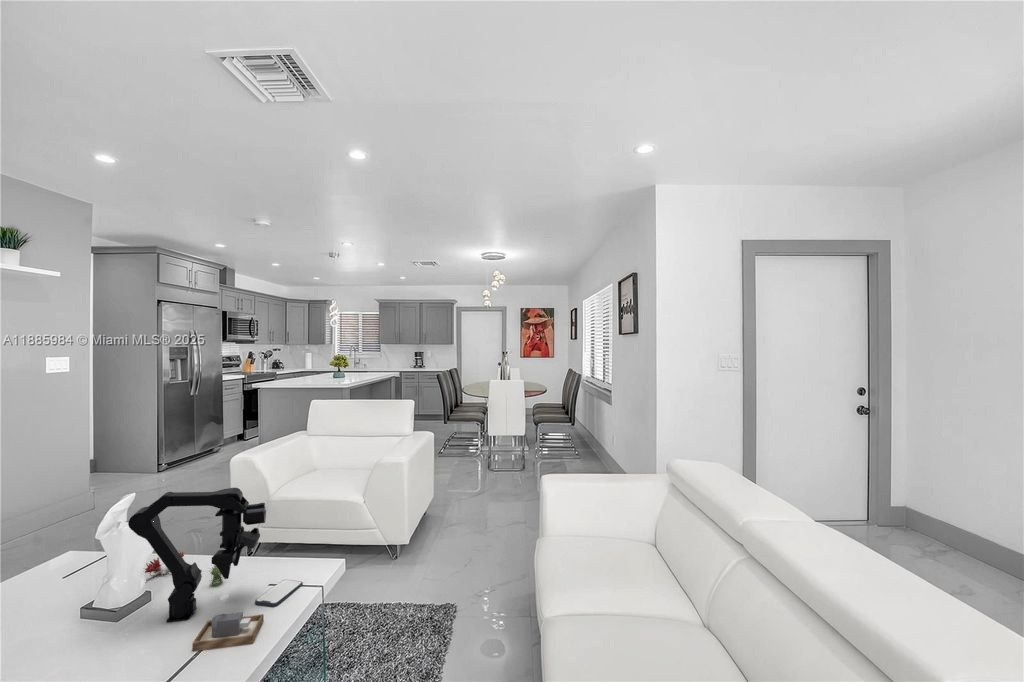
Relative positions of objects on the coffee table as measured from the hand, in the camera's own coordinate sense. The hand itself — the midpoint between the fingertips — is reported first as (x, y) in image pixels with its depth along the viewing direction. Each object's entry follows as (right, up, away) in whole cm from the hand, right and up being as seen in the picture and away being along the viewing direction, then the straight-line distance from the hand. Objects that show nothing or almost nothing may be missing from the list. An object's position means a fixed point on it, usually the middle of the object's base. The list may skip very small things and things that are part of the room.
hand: (231, 572), depth 160 cm
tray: (+9, -12, -15) cm, 21 cm away
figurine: (-40, -12, +22) cm, 48 cm away
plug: (+9, -11, -15) cm, 21 cm away
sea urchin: (-14, -12, +14) cm, 23 cm away
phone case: (+12, -13, +9) cm, 20 cm away
